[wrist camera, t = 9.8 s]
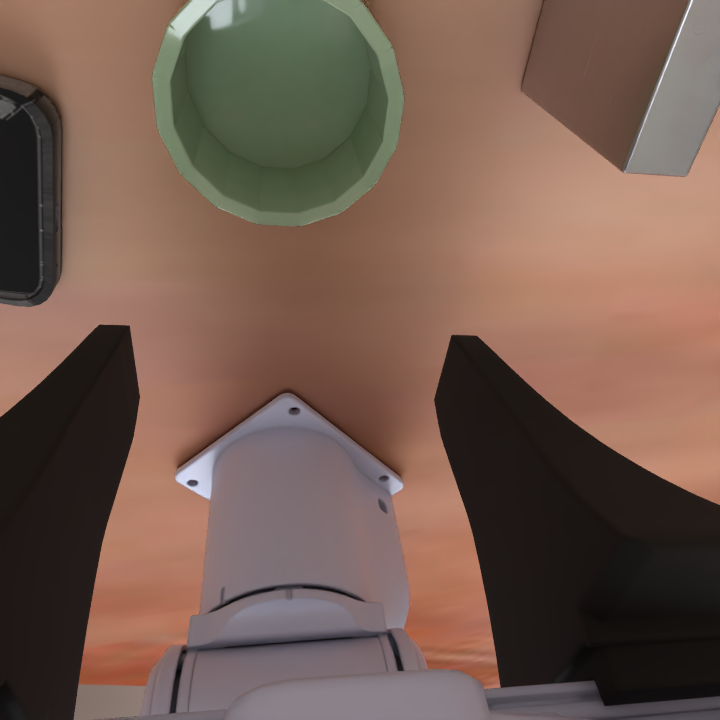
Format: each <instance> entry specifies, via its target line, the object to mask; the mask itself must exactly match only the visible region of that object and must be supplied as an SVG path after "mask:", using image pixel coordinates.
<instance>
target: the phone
mask: <svg viewBox="0 0 720 720" xmlns="http://www.w3.org/2000/svg"><path fill="white" fill-rule="evenodd" d="M61 255H62V124H61V118H60V115H59V113H58V111H57V109H56V107H55V105H54V103H53V102H52V101H51V100H50V99H49V98H48V96H47V95H46V94H45V93H43V92H42V91H41V90H39V89H38V88H36V87H35V86H33V85H31V84H28V83H26V82H23V81H21V80H17V79H13V78H9V77H5V76H2V75H0V303H3V304H9V305H15V306H25V307H31V306H35V305H39V304H41V303H43V302H45V301H46V300H47V299H48V298H49V296H50V295H51V294H52V292H53V290H54V288H55V286H56V284H57V283H58V281H59V279H60V275H61Z"/></svg>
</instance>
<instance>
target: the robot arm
mask: <svg viewBox="0 0 720 720" xmlns="http://www.w3.org/2000/svg"><path fill="white" fill-rule="evenodd" d="M139 399H140V394H139V387H138V381H137V374H136V367H135V360H134V353H133V346H132V339H131V332H130V326H126V325H99V326H98V327H96V328H95V329H94V330H93V331H92V332H91V333H90V334H89V335H88V336H87V337H86V338H85V339H84V340H83V341H82V342H81V343H80V345H79V346H78V347H77V348H76V349H75V350H74V351H73V352H72V353H71V354H70V355H69V356H68V357H67V358H66V359H65V360H64V361H63V362H62V363H61V364H60V365H59V366H58V367H57V368H56V369H54V370H53V371H52V372H51V373H50V374H49V375H48V376H47V377H46V378H45V379H44V380H43V381H42V382H41V383H40V384H39V385H38V386H37V387H35V388H34V389H33V390H32V391H31V392H30V393H29V394H27V395H26V396H25V397H24V398H23V399H22V400H20V401H19V402H18V403H17V404H16V405H15V406H13V407H12V408H11V409H10V410H9V411H8V412H6V413H5V414H4V415H3V416H1V417H0V720H73V719H74V711H75V704H76V697H77V689H78V682H79V676H80V669H81V663H82V656H83V649H84V643H85V636H86V630H87V624H88V618H89V612H90V607H91V601H92V595H93V589H94V583H95V578H96V573H97V568H98V562H99V557H100V552H101V546H102V542H103V538H104V534H105V530H106V526H107V522H108V519H109V516H110V513H111V509H112V506H113V503H114V500H115V496H116V493H117V490H118V487H119V483H120V480H121V477H122V474H123V470H124V467H125V464H126V460H127V457H128V454H129V450H130V447H131V444H132V440H133V437H134V431H135V425H136V419H137V412H138V406H139ZM434 401H435V407H436V413H437V419H438V424H439V429H440V434H441V438H442V441H443V444H444V447H445V450H446V453H447V456H448V459H449V462H450V465H451V468H452V471H453V474H454V477H455V480H456V483H457V486H458V489H459V492H460V495H461V498H462V500H463V503H464V506H465V509H466V512H467V515H468V519H469V522H470V526H471V529H472V533H473V537H474V541H475V546H476V551H477V555H478V560H479V564H480V569H481V574H482V579H483V584H484V589H485V594H486V599H487V604H488V610H489V615H490V621H491V627H492V633H493V639H494V645H495V651H496V657H497V665H498V672H499V679H500V686H501V688H492V689H483V686H482V683H481V682H480V681H478V680H476V679H475V678H473V677H471V676H469V675H467V674H465V673H463V672H462V671H460V670H446V669H428V667H427V664H426V661H425V658H424V656H423V653H422V651H421V649H420V648H419V646H418V645H417V644H416V643H415V642H414V641H413V640H412V639H411V638H410V637H409V635H408V634H407V632H406V631H405V630H403V628H404V626H405V622H406V619H407V615H408V610H409V603H410V588H409V581H408V576H407V571H406V566H405V561H404V556H403V551H402V546H401V542H400V537H399V532H398V527H397V522H396V517H395V512H394V507H393V502H392V497H391V496H392V495H393V494H395V493H397V492H398V491H400V490H401V489H402V488H403V486H404V484H403V480H402V478H401V477H400V476H398V475H397V474H396V473H394V472H393V471H392V470H391V469H389V468H388V467H387V466H385V465H384V464H383V463H382V462H380V461H379V460H378V459H376V458H375V457H374V456H373V455H371V454H370V453H369V452H367V451H366V450H365V449H364V448H362V447H361V446H360V445H358V444H357V443H356V442H355V441H353V440H352V439H351V438H349V437H348V436H347V435H346V434H344V433H343V432H342V431H340V430H339V429H338V428H337V427H335V426H334V425H333V424H331V423H330V422H329V421H328V420H326V419H325V418H324V417H322V416H321V415H320V414H319V413H317V412H316V411H315V410H313V409H312V408H311V407H310V406H308V405H307V404H306V403H304V402H303V401H302V400H300V399H299V398H298V397H297V396H295V395H294V394H292V393H283V394H281V395H279V396H278V397H276V398H275V399H274V400H272V401H271V402H269V403H268V404H267V405H265V406H264V407H263V408H261V409H260V410H258V411H257V412H256V413H254V414H253V415H251V416H250V417H249V418H247V419H246V420H245V421H243V422H242V423H240V424H239V425H238V426H236V427H235V428H233V429H232V430H231V431H229V432H228V433H227V434H225V435H224V436H222V437H221V438H220V439H218V440H217V441H215V442H214V443H213V444H211V445H210V446H208V447H207V448H206V449H204V450H203V451H202V452H200V453H199V454H197V455H196V456H195V457H193V458H192V459H190V460H189V461H188V462H186V463H185V464H184V465H182V466H181V467H179V468H178V469H177V470H176V473H175V480H176V481H177V482H178V483H180V484H182V485H183V486H185V487H187V488H189V489H191V490H192V491H194V492H196V493H198V494H199V495H201V496H203V497H205V498H206V499H208V500H210V508H209V518H208V529H207V539H206V550H205V560H204V571H203V581H202V592H201V602H200V613H199V615H193V616H191V617H190V622H189V632H188V641H187V645H172V646H170V647H169V648H168V649H167V650H166V651H165V653H164V655H163V656H162V657H161V658H160V660H159V661H158V662H157V663H156V664H155V665H154V666H153V668H152V670H151V672H150V675H149V677H148V681H147V684H146V688H145V693H144V697H143V702H142V707H141V713H140V716H134V717H120V718H107V719H95V720H720V505H718V504H716V503H713V502H711V501H709V500H706V499H704V498H702V497H699V496H697V495H695V494H693V493H691V492H688V491H686V490H684V489H682V488H680V487H678V486H676V485H674V484H672V483H670V482H668V481H666V480H664V479H662V478H661V477H659V476H657V475H655V474H653V473H651V472H650V471H648V470H646V469H644V468H642V467H641V466H639V465H637V464H636V463H634V462H632V461H631V460H629V459H627V458H626V457H624V456H622V455H621V454H619V453H617V452H616V451H614V450H613V449H611V448H609V447H608V446H606V445H605V444H603V443H602V442H600V441H599V440H597V439H596V438H595V437H593V436H592V435H590V434H589V433H588V432H586V431H585V430H583V429H582V428H580V427H579V426H578V425H576V424H575V423H574V422H572V421H571V420H570V419H568V418H567V417H566V416H565V415H563V414H562V413H561V412H560V411H559V410H557V409H556V408H555V407H554V406H553V405H551V404H550V403H549V402H548V401H546V400H545V399H544V398H543V397H542V396H541V395H540V394H538V393H537V392H536V391H535V390H534V389H533V388H532V387H531V386H530V385H528V384H527V383H526V382H525V381H524V380H523V379H522V378H521V377H520V376H519V375H518V374H517V373H516V372H514V371H513V370H512V369H511V368H510V367H509V366H508V365H507V364H506V363H505V362H504V361H503V360H502V359H501V358H500V357H499V356H498V355H497V354H496V353H495V352H494V351H493V350H492V349H491V348H489V347H488V346H487V345H486V344H485V343H484V342H483V341H482V340H481V339H480V338H478V337H477V336H468V335H452V336H451V339H450V343H449V347H448V351H447V354H446V358H445V362H444V365H443V369H442V373H441V376H440V380H439V384H438V388H437V391H436V395H435V399H434ZM293 407H297V408H298V409H296V410H292V409H291V408H293ZM384 475H385V476H384Z"/></svg>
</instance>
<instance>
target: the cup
mask: <svg viewBox="0 0 720 720" xmlns="http://www.w3.org/2000/svg"><path fill="white" fill-rule="evenodd" d="M152 75H153V76H152V86H153V96H154V106H155V116H156V126H157V128H158V132H159V134H160V136H161V138H162V140H163V142H164V144H165V146H166V148H167V150H168V152H169V154H170V156H171V158H172V160H173V162H174V163H175V165H176V167H177V169H178V171H179V173H181V175H182V176H183V177H184V178H185V179H186V180H187V181H188V182H189V183H190V184H191V185H192V186H193V187H194V188H195V189H197V190H198V191H199V192H200V193H201V194H202V195H203V196H204V197H205V198H206V199H207V200H208V201H209V202H210V203H212V204H213V205H214V206H216V207H217V208H219V209H221V210H224V211H226V212H228V213H231V214H233V215H236V216H238V217H240V218H243V219H245V220H247V221H250V222H252V223H254V224H258V225H276V226H297V227H299V226H304V225H307V224H310V223H313V222H316V221H319V220H322V219H325V218H329V217H332V216H335V215H338V214H340V213H342V212H343V211H345V210H346V209H347V208H348V207H350V206H351V205H352V204H353V203H354V202H356V201H357V200H358V199H359V198H361V197H362V196H363V195H364V194H365V193H367V192H368V191H369V190H370V189H372V188H373V187H374V185H375V184H376V183H377V181H378V180H379V178H380V176H381V174H382V173H383V171H384V169H385V167H386V165H387V164H388V162H389V160H390V158H391V157H392V155H393V153H394V151H395V150H396V148H397V144H398V140H399V133H400V126H401V120H402V113H403V106H404V91H403V87H402V82H401V78H400V74H399V69H398V65H397V60H396V56H395V52H394V48H393V46H392V43H391V42H390V40H389V39H388V38H387V36H386V35H385V33H384V32H383V30H382V29H381V27H380V26H379V25H378V23H377V22H376V20H375V19H374V17H373V16H372V14H371V13H370V12H369V10H368V9H367V7H366V6H365V4H364V3H363V2H362V0H185V1H184V3H183V4H182V5H181V7H180V8H179V9H178V11H177V12H176V13H175V15H174V16H173V17H172V19H171V20H170V21H169V24H168V25H167V27H166V30H165V34H164V37H163V40H162V43H161V47H160V50H159V53H158V56H157V59H156V63H155V66H154V69H153V72H152Z"/></svg>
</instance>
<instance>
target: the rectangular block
mask: <svg viewBox="0 0 720 720" xmlns="http://www.w3.org/2000/svg"><path fill="white" fill-rule="evenodd" d="M521 91H522V92H523V93H524V94H525V95H527V96H528V97H529V98H530V99H532V100H533V101H534V102H535V103H537V104H538V105H539V106H540V107H542V108H543V109H544V110H545V111H547V112H548V113H549V114H550V115H552V116H553V117H554V118H555V119H557V120H558V121H559V122H560V123H562V124H563V125H564V126H565V127H567V128H568V129H569V130H570V131H572V132H573V133H574V134H575V135H577V136H578V137H579V138H580V139H582V140H583V141H584V142H585V143H587V144H588V145H589V146H590V147H592V148H593V149H594V150H595V151H597V152H598V153H599V154H600V155H602V156H603V157H604V158H605V159H607V160H608V161H609V162H610V163H612V164H613V165H614V166H615V167H617V168H618V169H619V170H620V171H622V172H623V173H633V174H648V175H663V176H677V177H685V176H687V175H688V173H689V171H690V168H691V166H692V164H693V162H694V160H695V158H696V155H697V153H698V151H699V149H700V147H701V145H702V142H703V140H704V138H705V136H706V134H707V132H708V129H709V127H710V125H711V123H712V121H713V118H714V116H715V114H716V112H717V110H718V108H719V105H720V0H544V3H543V7H542V11H541V15H540V19H539V23H538V26H537V30H536V34H535V38H534V42H533V46H532V50H531V53H530V57H529V61H528V65H527V69H526V73H525V77H524V80H523V84H522V88H521Z"/></svg>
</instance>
